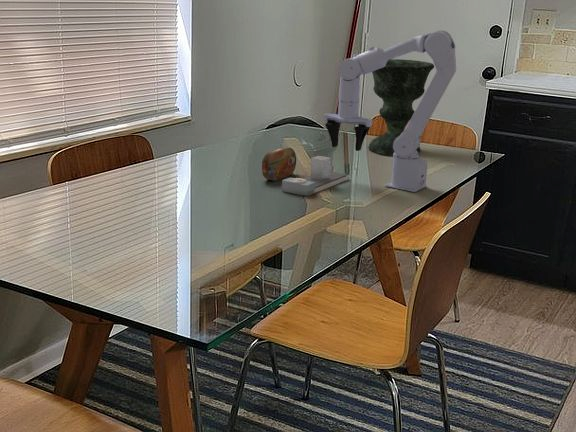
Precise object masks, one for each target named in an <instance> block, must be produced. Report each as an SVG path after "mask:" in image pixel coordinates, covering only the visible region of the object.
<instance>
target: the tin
mask: <svg viewBox="0 0 576 432" xmlns="http://www.w3.org/2000/svg"><path fill="white" fill-rule="evenodd" d="M296 164H297V155H296V152H295V150H294V149H293V148H292V147H281V148H278V149H275V150H272V151H268V152H266V154H265V155H264V156H263V159H262V161H261V171H262V176H263V177H264V178H265V180H268V181H273V182H276V181H280V180H281V179H282V180H283V179H286V178H288V177H289V176H292V174H293V173H294V172H295V169H296V166H297V165H296Z"/></svg>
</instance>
